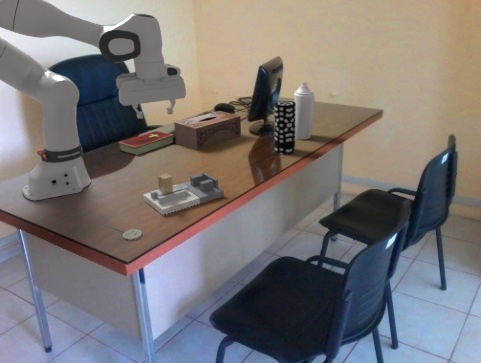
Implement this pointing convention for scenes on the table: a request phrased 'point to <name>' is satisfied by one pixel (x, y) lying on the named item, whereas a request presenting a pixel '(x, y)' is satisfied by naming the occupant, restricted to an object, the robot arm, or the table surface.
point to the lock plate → (186, 194)
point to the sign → (130, 233)
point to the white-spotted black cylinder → (285, 127)
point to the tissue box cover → (207, 130)
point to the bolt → (168, 186)
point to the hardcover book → (146, 142)
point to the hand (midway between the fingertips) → (155, 115)
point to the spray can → (303, 111)
